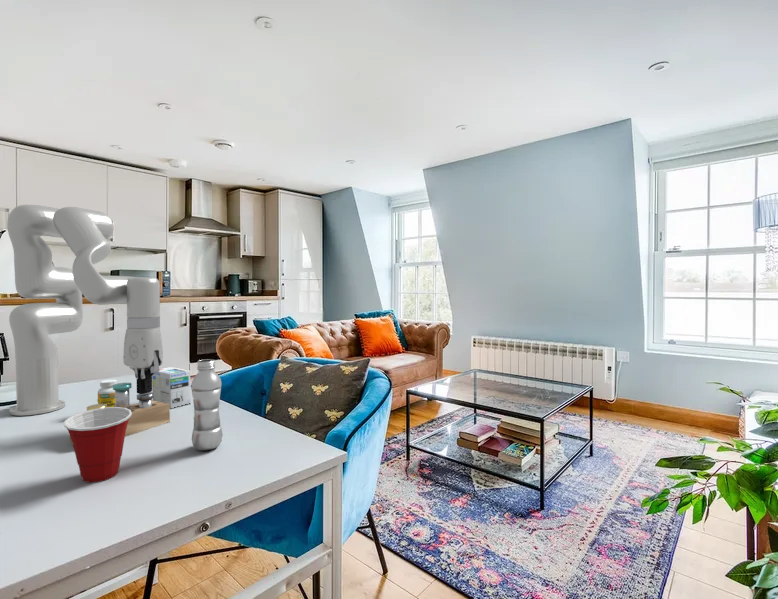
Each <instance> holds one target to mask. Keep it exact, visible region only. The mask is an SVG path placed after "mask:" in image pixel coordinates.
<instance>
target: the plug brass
mask: <svg viewBox="0 0 778 599" xmlns="http://www.w3.org/2000/svg"><path fill="white" fill-rule="evenodd" d="M106 407H107V404H98V403H96V404H92V405H91V404H90V405H88V406H87V407H86V411H89V410H92V409H99V408H106Z"/></svg>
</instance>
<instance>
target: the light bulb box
mask: <svg viewBox="0 0 778 599" xmlns="http://www.w3.org/2000/svg"><path fill="white" fill-rule="evenodd" d="M152 393H154V398H152V400H153V401H158V402H163V403H168V404H169V405H170V408H172V409H174V407H176V408H178V407H177V406H180V407H182V406H181V405H183V406H186V405H185V404H188V405H190V404H189V403H191V404H192V394H191V393H192V389H191V369H190V370H189V369H183V368H178V367H173V366H169V367H163V368H159V372H155V373H154V376H153V377H152Z"/></svg>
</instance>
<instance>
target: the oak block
mask: <svg viewBox="0 0 778 599" xmlns="http://www.w3.org/2000/svg"><path fill="white" fill-rule="evenodd" d="M130 410H131V412H132V415H131V417H130V418H129V420H128V424H127V429H126V433H125V437H128V436H130V435H131V436H132V435H134V434H137V433H140V431H141V432H143V430H144V431H148V430H149V428H150V429H153V428H156V427H158V426H162V425H165V424H168V423H171V422H170V421H171V416H170V415H171V414H170V413H171V411H170V410H171V409H170V405H169V404H168V403H163V402H158V401H153V399H152V406H151V407H148V408H144V409H142V408H139V402H138V403H135V404H131V405H130ZM167 422H168V423H167ZM164 423H165V424H164ZM161 424H162V425H161ZM155 426H156V427H155ZM152 427H153V428H152ZM68 434H69V433H68ZM68 437H69V443H70V444H73V443H72V439H71V437H70V434H69V435H68Z"/></svg>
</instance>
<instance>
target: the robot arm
mask: <svg viewBox="0 0 778 599" xmlns="http://www.w3.org/2000/svg"><path fill="white" fill-rule="evenodd" d="M6 224H7V226H6V227H7V233H8V237H9V239H10V242H11V245H12V246H11V247H12V249H13V263H14V265H13V266H14V285H15V290H16V293H17V294H18V295H19V296H20V297H22V298H24V299H55V301H56V302H34V303H33V302H32V303H24V304H22V305H21V304H20V305H18V306H16V307H15V308H13V309H12V310H11V312H10V313H9V316H8V317H9V320H8V321H9V326H10V329H11V333H12V337H13V343H14V360H15V389H16V406H14V407H11V408H10V409H9V414H10V415H12V416H19V417H20V416H21V417H22V416H33V415H40V414H46V413H49V412H50V413H51V412H55V411H58V410H60V409H63V408H64V407H65V406H66V401H64V400H62V399H61V400H60V397H59V396H60V395H59V361H58V357H59V356H58V348H57V345H56V344H55V342H54V341H53V340H52V339H51V338H50V337H49V335H55V334H64V333H72V332H74V331H77V330H78V329H80V327H81V325H82V323H83V313H84V312H83V309H84V307H83V297H85V299H86V300H87V301H89V302H90V303H92V304H95V305H97V306H98V305H99V306H103V305H105V306H106V305H107V306H108V305H126V330H125V334H124V340H123V356H122V357H123V364H124V366H125V367H129V369H130V370H132V371H134V377H135V379H136V393H137V395H138V394H145V393H149V392H152V377H153V376H154V373H155V372H159V369H160V367H161V365H162V364H163V357H164V356H163V355H164V353H163V341H162V340H163V339H162V332H161V286H160V280H159V279H158V278H156V277H151V276H150V277H149V276H147V277H145V276H142V277H141V276H128V275H127V276H125V275H124V276H123V275H102V274H100V272H98V270H97V269H96V267H95V265H96V264H98V263H100V262H101V261H104V260H105V259H106V258H107V257H108V256H109V255H110V253H111V251H112V246H111V244H110V242H108V239H110V238H111V236H112V235H113V233H114V230H115V225H114V222H113V221H112V218H110V216H109V215H108V214H106V213H105V212H102V211H99V210H92V209H88V208H83V207H82V208H81V207H75V206H66V207H61V208H57V207H56V208H55V207H50V206H46V205H45V206H44V205H37V204H21V205H20V204H19V205H18V206H15V207H14V208H13V209H12V210H11V211H10V213H9V214H8V217H7V221H6ZM42 237H50V238H62V239H63V240H64V241H65V243H66V244H67V246H68V247H69V249H70V250H71V251H72V253H73V254H74V255H75V257H74V260H73V262H72V263H73V264H72V268H68V267H60V266H58V267H57V266H54V265H53V252H52V250H51V248H50V246H49V245H48V244H47V242H46V241H45V240H44V239H43V238H42ZM152 393H153V392H152Z"/></svg>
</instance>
